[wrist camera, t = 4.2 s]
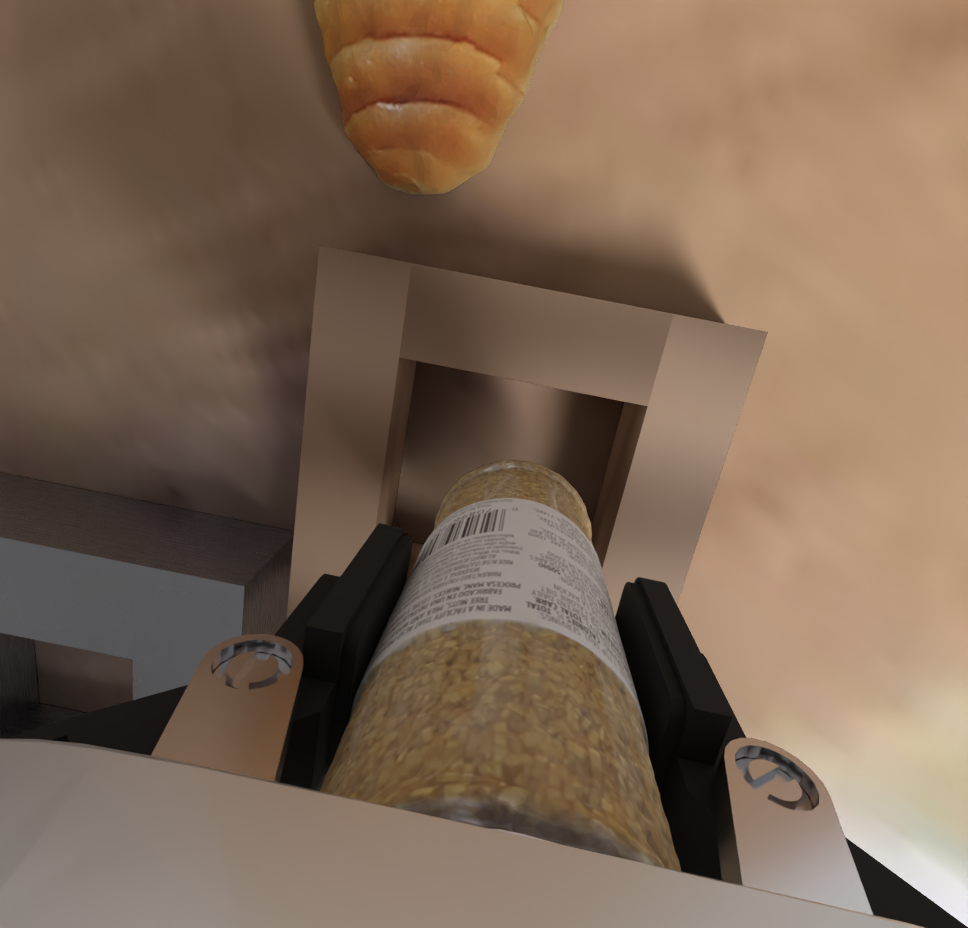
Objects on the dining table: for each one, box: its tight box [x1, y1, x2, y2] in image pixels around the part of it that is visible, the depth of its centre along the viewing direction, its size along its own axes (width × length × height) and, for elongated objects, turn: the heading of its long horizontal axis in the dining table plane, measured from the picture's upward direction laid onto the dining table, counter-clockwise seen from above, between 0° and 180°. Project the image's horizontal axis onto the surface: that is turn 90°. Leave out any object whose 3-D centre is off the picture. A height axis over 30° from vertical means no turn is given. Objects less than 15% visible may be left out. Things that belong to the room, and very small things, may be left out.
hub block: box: [0, 472, 294, 739], centre depth 21 cm, size 14×14×4 cm
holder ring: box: [286, 245, 768, 620], centre depth 18 cm, size 12×12×3 cm
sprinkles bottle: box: [320, 460, 681, 871], centre depth 10 cm, size 5×5×13 cm
